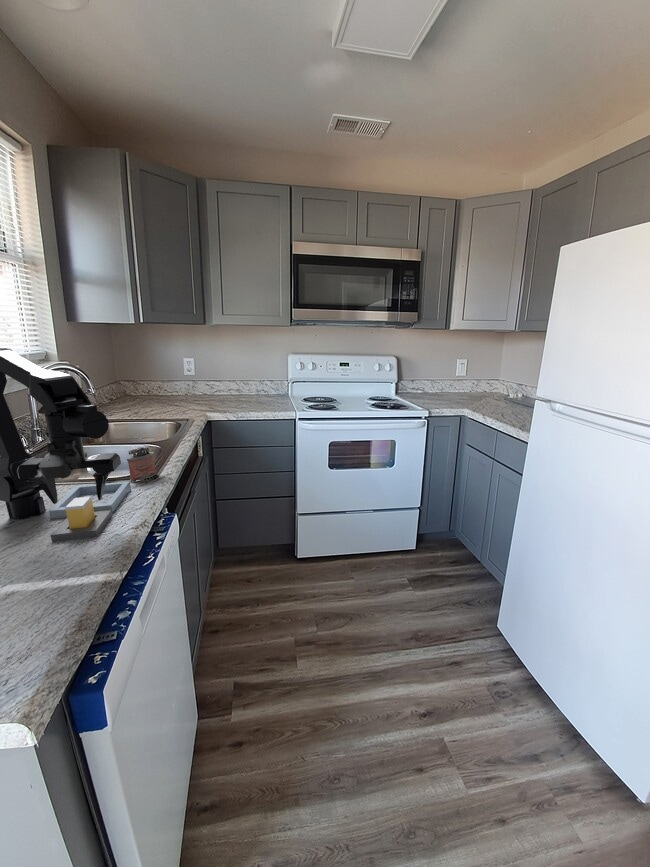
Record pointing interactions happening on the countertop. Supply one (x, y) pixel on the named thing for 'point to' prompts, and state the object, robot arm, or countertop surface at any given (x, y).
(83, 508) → the yellow and white block
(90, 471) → the pipe fitting
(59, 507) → the parts tray
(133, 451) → the lighter
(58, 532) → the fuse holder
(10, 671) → the countertop surface
